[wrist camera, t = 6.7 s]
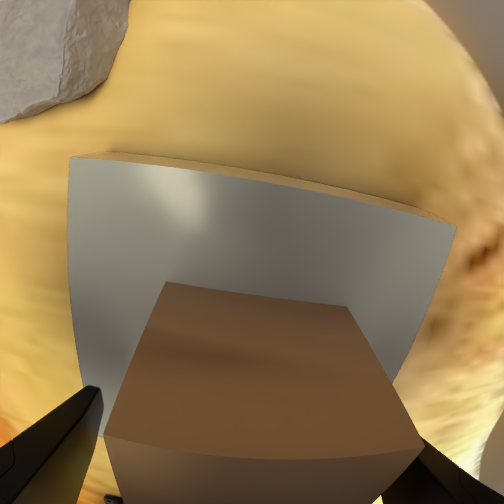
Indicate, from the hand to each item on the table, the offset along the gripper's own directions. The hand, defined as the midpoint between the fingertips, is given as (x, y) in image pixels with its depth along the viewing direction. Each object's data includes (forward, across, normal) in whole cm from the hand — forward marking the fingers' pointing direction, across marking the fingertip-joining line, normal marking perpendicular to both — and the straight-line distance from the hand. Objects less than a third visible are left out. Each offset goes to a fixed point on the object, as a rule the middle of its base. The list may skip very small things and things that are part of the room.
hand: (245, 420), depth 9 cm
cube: (+3, 0, 0) cm, 3 cm away
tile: (+6, 0, 0) cm, 6 cm away
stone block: (+6, +12, -12) cm, 19 cm away
